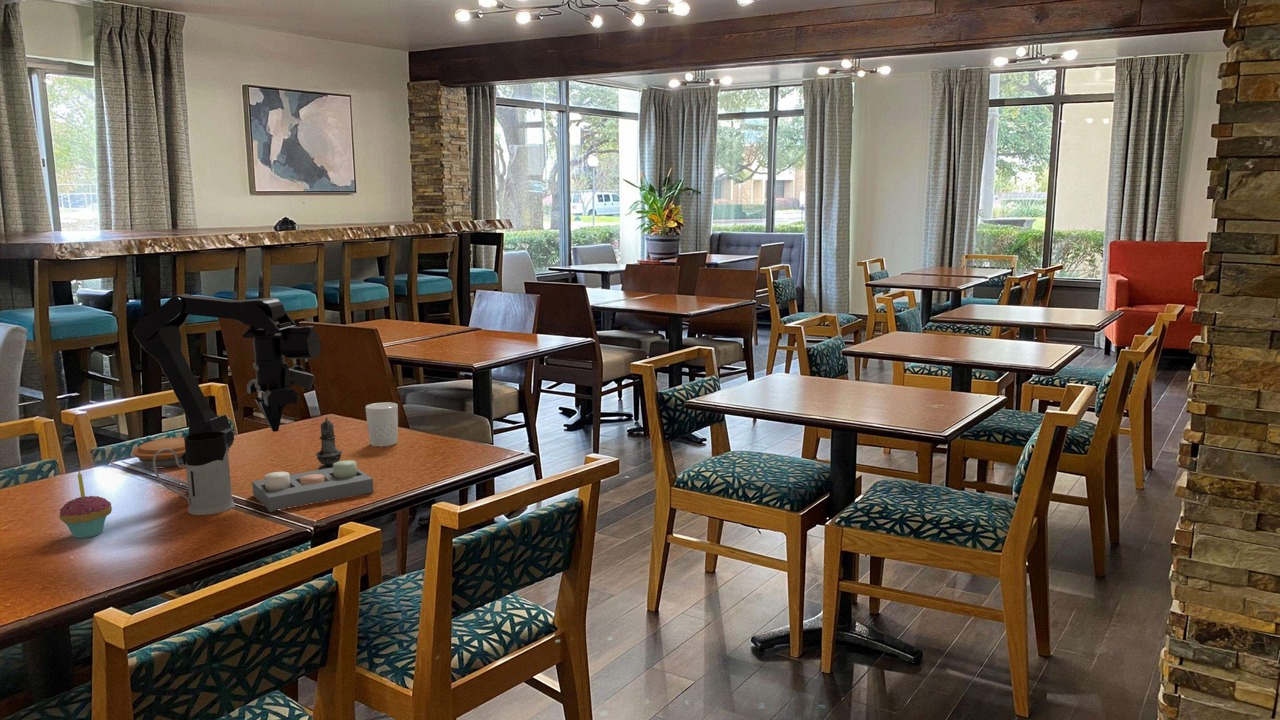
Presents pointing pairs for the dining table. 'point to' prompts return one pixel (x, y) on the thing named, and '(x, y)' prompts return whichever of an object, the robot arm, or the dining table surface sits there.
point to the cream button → (277, 481)
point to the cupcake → (85, 514)
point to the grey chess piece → (328, 446)
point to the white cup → (382, 423)
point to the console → (312, 490)
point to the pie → (164, 457)
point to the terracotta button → (311, 479)
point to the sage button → (344, 469)
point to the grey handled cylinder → (205, 473)
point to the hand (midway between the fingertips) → (275, 431)
